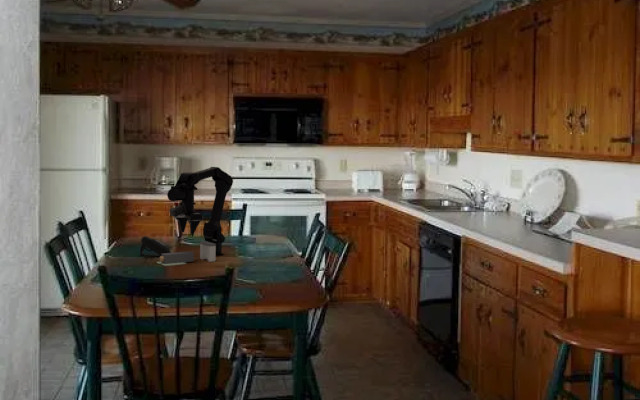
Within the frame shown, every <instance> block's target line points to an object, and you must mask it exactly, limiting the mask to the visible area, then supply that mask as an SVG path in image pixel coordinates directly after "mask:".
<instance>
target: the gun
mask: <svg viewBox="0 0 640 400" xmlns="http://www.w3.org/2000/svg"><path fill="white" fill-rule="evenodd" d="M140 242H141V246H140V250H139V252H140V254H139V255H140V256H141V257H143V256H144V251H145V250H146V251H147V252H154V253H155V254H157V255H158V256H159V257H160V256H161V254H164V253H172V252H171V250H170V248H169V247H167V246H166V245H165V244H164V243H162V242H160V241H159V240H157V239H154V238H151V237H148V236H142V237H141V239H140Z"/></svg>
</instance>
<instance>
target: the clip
mask: <svg viewBox="0 0 640 400" xmlns="http://www.w3.org/2000/svg"><path fill="white" fill-rule="evenodd" d="M199 243H200V244H199V245H200V246H199V247H200V248H199V259H200V260H207V262H209V263H210V262H216V256H217V255H216V244H214V243H210V242H208V241H205V240H204V241H200V242H199Z"/></svg>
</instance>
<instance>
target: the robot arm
mask: <svg viewBox="0 0 640 400" xmlns="http://www.w3.org/2000/svg"><path fill="white" fill-rule="evenodd" d="M209 178H211V180H212V181H213V182H214V188H215V196H214V200H213V203H212V204H213V205H212V209H211V212H210V213H211V214H210V218H209V220H208V221H207V222H204V225H203V228H202V235H203V237H204V239H203V240H204V241H207V242H210V243H214V244H216V256H220V255H224V253H223V251H222V250H223V247H222V246H223V243H225V240H226V236H225V235H224V234H223V233H222V230H223V229H222V225H221V218H222V215H223V210H224V205H225V202H226V197H227V194H228V193H229V191H230V190H231V189H232V186H233V183H234V179H233V177H232V176H231V175H230V174H228V173H227V172H226V171H224V170H223V169H221V168H220V167H217V166H210V167H208V168H205V169H204V168H203V169H202V170H199V171H194V172H189V171H188V172H182V173H180V174H179V177H178V179H177V181H176V183H175V185H171V186H170V189H168V191H167V194H166V195H167V199H168V200H169V201H170V202H179V203H178V205H176V206H174V207H171V208H169V214H170V217H173V218H174V219H175V220H176V221H177V222H178V226H179V228H180V231H181V233H182V234H183V233H185V230H186V226H187V224H189V231H190V235H191V236H194V234H195V232H196V230H197V228H198V226H199V224H200V223H201V222H202V221H203V219H204V218H203V217H204V215H203V214H202V213H199V212H196V210H195V206H196V205H197V204H196V203H197V202H195V191H197V190H198V188H197V186H195V185H197V184H198V183H199V182H200V181H203V180H206V179H209Z"/></svg>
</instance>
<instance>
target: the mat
mask: <svg viewBox="0 0 640 400" xmlns="http://www.w3.org/2000/svg"><path fill="white" fill-rule="evenodd" d="M155 263H156V264H159V265H162V266H164V267H168V266H170V267H171V266H179V265H187V262H181V263H171V264H164V263H161V262H160V261H156V262H155Z"/></svg>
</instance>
